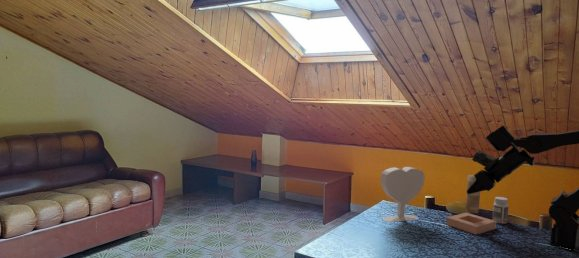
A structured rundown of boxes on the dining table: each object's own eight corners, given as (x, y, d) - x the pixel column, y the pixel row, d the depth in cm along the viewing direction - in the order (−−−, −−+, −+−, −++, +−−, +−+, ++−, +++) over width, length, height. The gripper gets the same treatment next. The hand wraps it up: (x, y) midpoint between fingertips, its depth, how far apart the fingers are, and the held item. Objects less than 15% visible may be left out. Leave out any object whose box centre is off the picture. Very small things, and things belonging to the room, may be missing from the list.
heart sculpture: (415, 214, 152) (417, 165, 150) (423, 218, 147) (426, 168, 145) (377, 217, 147) (379, 167, 145) (385, 222, 142) (387, 170, 140)
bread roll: (441, 210, 159) (442, 199, 159) (458, 207, 163) (459, 197, 162) (458, 216, 152) (459, 205, 151) (476, 213, 155) (477, 203, 155)
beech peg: (481, 212, 138) (483, 177, 137) (471, 213, 137) (473, 177, 136) (473, 209, 142) (475, 174, 141) (463, 210, 141) (465, 175, 140)
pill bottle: (503, 219, 148) (505, 196, 147) (509, 224, 144) (511, 200, 143) (490, 219, 149) (491, 196, 148) (495, 223, 144) (497, 199, 143)
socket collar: (495, 228, 138) (496, 221, 138) (476, 234, 132) (477, 226, 132) (465, 219, 148) (466, 212, 147) (446, 224, 141) (446, 217, 141)
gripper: (495, 140, 142) (459, 168, 150) (483, 146, 127) (444, 176, 135) (519, 166, 138) (481, 193, 146) (510, 175, 123) (468, 205, 131)
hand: (469, 191), depth 139 cm, fingers closed on beech peg, 4 cm apart
